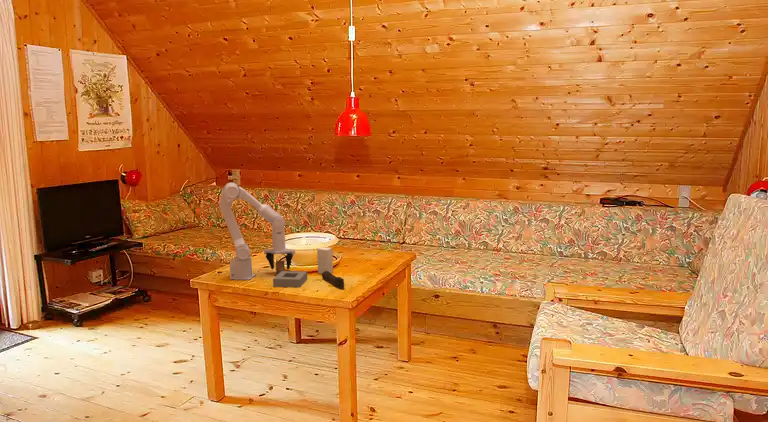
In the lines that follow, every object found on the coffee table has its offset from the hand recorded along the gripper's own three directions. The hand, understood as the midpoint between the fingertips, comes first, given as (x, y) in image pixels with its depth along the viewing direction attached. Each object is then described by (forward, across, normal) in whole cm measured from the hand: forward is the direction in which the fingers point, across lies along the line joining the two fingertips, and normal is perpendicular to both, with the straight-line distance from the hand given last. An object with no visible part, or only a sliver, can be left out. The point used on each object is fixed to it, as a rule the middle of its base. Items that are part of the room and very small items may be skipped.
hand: (280, 268), depth 260 cm
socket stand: (+2, +9, -13) cm, 16 cm away
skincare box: (+3, +21, +3) cm, 21 cm away
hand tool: (+3, +29, -13) cm, 32 cm away
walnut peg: (+2, 0, 0) cm, 3 cm away
